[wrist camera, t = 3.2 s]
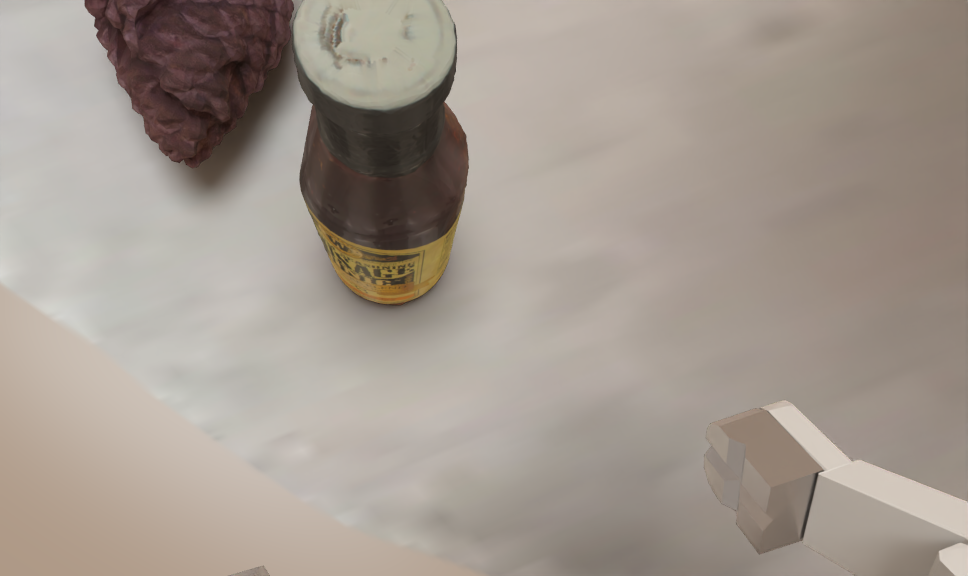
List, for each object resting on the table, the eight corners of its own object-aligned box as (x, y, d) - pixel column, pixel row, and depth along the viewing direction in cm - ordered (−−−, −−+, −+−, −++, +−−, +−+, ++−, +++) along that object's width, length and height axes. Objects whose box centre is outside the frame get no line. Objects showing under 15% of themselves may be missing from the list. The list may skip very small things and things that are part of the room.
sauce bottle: (311, 268, 34) (158, 41, 14) (379, 181, 35) (324, -130, 16) (411, 336, 33) (391, 196, 14) (475, 245, 35) (538, 6, 15)
